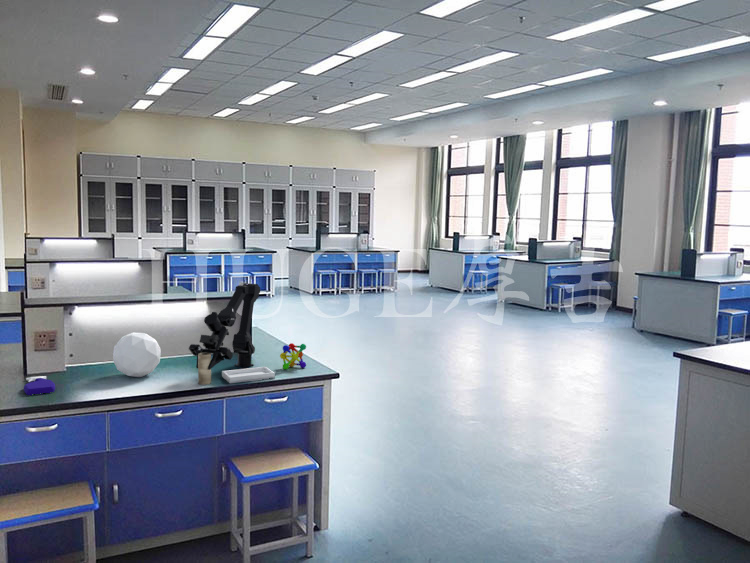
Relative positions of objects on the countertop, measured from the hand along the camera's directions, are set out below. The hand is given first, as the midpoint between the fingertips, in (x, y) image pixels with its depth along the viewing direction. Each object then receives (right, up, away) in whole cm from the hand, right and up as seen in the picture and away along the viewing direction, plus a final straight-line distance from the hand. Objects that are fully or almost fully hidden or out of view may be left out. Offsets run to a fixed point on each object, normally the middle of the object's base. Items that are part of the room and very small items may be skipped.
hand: (202, 368), depth 257 cm
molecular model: (+34, -4, +32) cm, 46 cm away
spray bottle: (-64, -7, -9) cm, 65 cm away
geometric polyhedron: (-32, -5, +11) cm, 34 cm away
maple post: (0, -6, +2) cm, 7 cm away
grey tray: (+16, -6, +12) cm, 21 cm away
